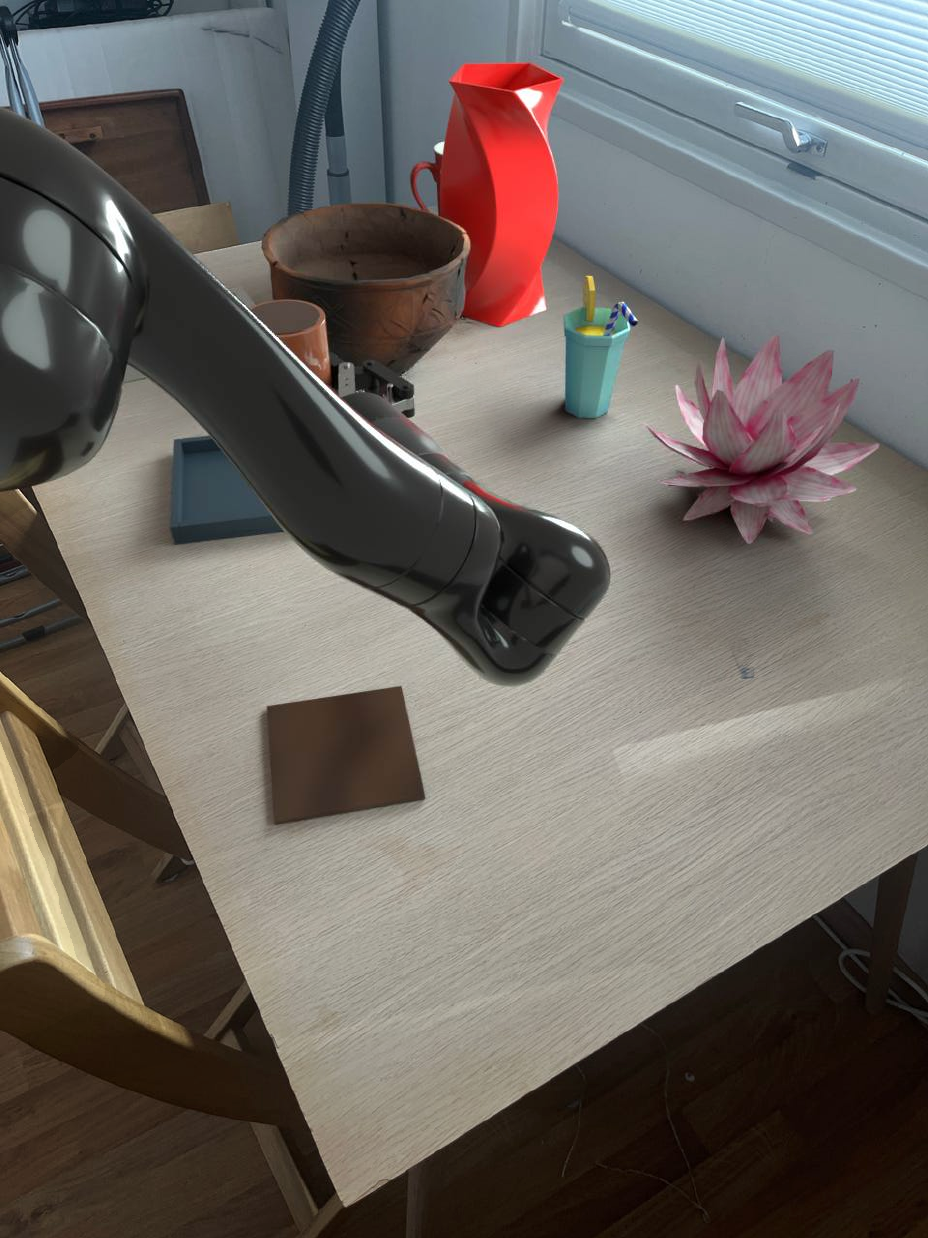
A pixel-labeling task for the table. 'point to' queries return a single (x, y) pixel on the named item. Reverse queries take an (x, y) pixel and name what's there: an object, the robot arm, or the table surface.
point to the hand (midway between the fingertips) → (278, 370)
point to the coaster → (342, 755)
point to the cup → (593, 353)
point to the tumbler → (300, 331)
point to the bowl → (372, 277)
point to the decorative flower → (766, 441)
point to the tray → (212, 496)
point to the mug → (434, 169)
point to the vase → (501, 185)
